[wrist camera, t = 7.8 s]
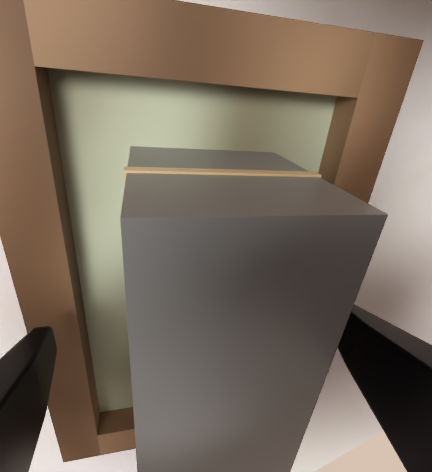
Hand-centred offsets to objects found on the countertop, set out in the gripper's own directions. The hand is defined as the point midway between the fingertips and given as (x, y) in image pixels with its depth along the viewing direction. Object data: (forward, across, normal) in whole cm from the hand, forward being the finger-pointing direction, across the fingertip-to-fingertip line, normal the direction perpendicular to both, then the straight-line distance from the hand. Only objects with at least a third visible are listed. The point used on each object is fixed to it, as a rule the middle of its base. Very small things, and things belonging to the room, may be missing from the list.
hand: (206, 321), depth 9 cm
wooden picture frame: (+4, 0, 0) cm, 4 cm away
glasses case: (+2, 0, 0) cm, 2 cm away
